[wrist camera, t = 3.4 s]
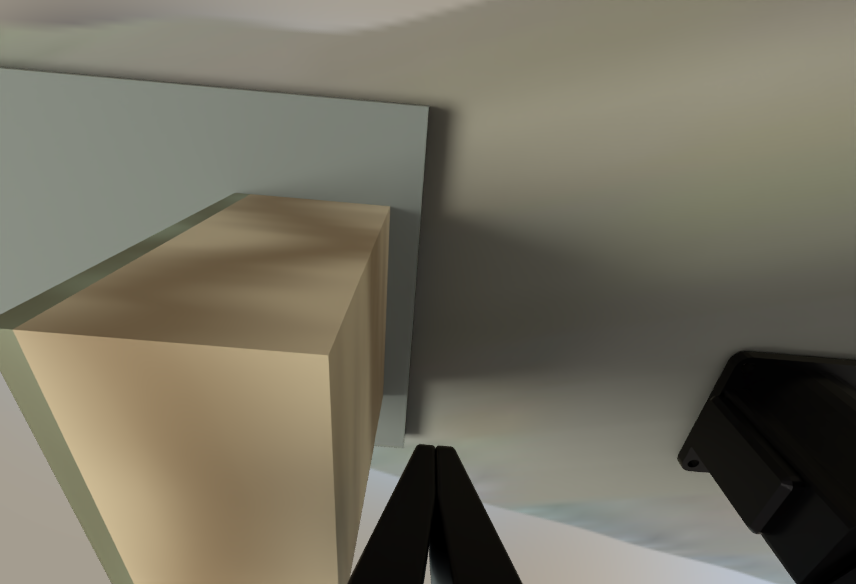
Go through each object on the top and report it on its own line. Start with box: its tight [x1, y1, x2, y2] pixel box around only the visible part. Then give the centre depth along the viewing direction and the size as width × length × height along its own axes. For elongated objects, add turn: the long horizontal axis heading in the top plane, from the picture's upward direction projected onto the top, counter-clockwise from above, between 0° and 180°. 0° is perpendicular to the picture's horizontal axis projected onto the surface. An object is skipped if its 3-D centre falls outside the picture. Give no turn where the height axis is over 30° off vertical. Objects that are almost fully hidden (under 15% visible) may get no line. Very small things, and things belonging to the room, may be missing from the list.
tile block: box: [0, 193, 390, 584], centre depth 11 cm, size 5×8×8 cm, turn 175°
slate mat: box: [0, 67, 429, 448], centre depth 15 cm, size 16×14×1 cm
